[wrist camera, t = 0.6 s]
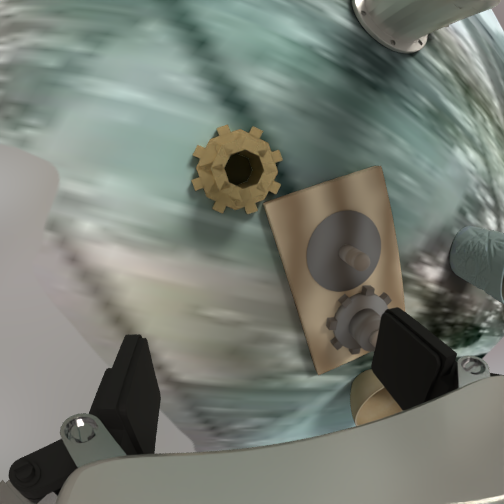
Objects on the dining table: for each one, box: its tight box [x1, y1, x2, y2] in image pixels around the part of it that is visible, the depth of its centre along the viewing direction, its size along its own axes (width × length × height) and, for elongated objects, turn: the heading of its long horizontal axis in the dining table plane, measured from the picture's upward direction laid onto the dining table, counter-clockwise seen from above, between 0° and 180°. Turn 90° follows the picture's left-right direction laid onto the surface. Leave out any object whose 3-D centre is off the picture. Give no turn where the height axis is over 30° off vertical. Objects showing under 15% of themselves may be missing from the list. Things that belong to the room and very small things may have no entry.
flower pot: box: [350, 370, 403, 426], centre depth 40 cm, size 10×10×7 cm
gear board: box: [263, 166, 405, 375], centre depth 34 cm, size 15×25×7 cm, turn 19°
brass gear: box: [191, 125, 282, 214], centre depth 28 cm, size 10×10×7 cm
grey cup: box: [450, 226, 504, 304], centre depth 34 cm, size 10×10×12 cm
